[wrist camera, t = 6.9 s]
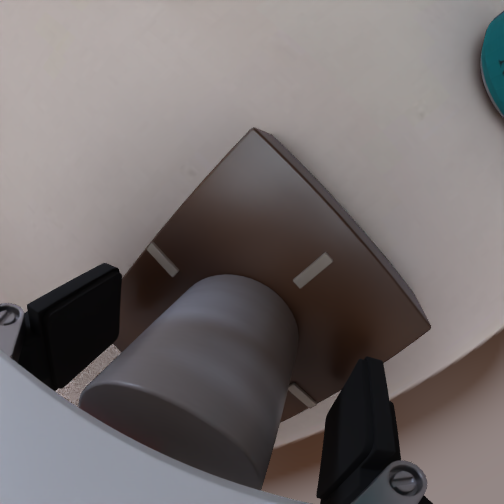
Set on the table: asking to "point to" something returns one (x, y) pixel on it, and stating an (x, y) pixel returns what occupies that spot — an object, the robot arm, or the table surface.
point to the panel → (280, 266)
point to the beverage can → (494, 62)
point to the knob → (205, 379)
